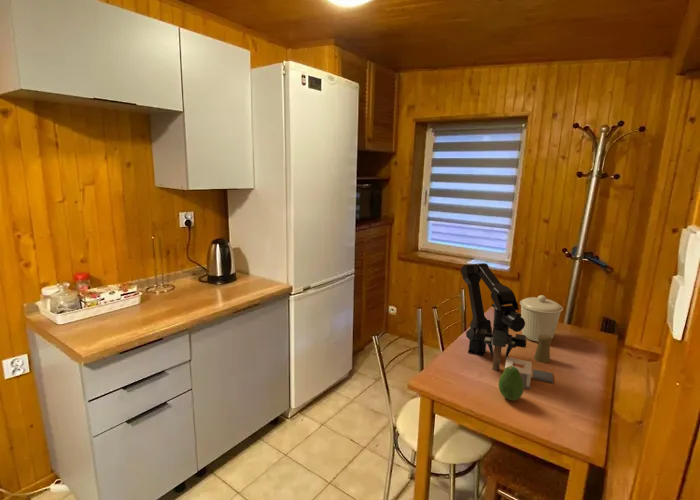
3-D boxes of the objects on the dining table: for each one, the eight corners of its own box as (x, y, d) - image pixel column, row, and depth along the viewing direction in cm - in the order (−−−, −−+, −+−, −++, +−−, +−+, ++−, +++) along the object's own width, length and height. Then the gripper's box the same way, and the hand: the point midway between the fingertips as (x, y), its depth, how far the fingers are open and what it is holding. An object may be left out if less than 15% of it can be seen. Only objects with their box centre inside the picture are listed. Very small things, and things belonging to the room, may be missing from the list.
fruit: (509, 407, 132) (513, 376, 129) (492, 395, 139) (495, 364, 136) (526, 402, 135) (531, 371, 132) (509, 390, 142) (513, 360, 139)
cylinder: (491, 369, 156) (494, 344, 153) (492, 366, 158) (495, 341, 156) (498, 371, 155) (501, 346, 152) (499, 368, 157) (502, 343, 154)
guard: (503, 383, 147) (504, 367, 145) (504, 371, 154) (506, 356, 153) (529, 389, 143) (531, 373, 141) (529, 377, 151) (531, 361, 149)
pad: (532, 379, 149) (532, 377, 149) (532, 370, 156) (532, 369, 156) (552, 383, 147) (553, 382, 146) (552, 374, 153) (552, 373, 153)
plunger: (512, 373, 147) (513, 368, 147) (513, 369, 150) (513, 364, 149) (522, 375, 146) (522, 370, 145) (522, 371, 149) (522, 366, 148)
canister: (521, 326, 197) (525, 286, 192) (560, 335, 187) (567, 294, 182) (511, 339, 183) (516, 296, 178) (554, 350, 172) (560, 305, 168)
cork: (551, 363, 161) (555, 339, 158) (536, 362, 162) (539, 337, 160) (547, 356, 167) (550, 333, 164) (532, 355, 168) (535, 331, 165)
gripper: (473, 325, 148) (472, 362, 152) (527, 333, 141) (524, 371, 144) (477, 314, 158) (475, 349, 162) (527, 321, 151) (524, 357, 154)
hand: (499, 357), depth 155 cm, fingers open, 5 cm apart
